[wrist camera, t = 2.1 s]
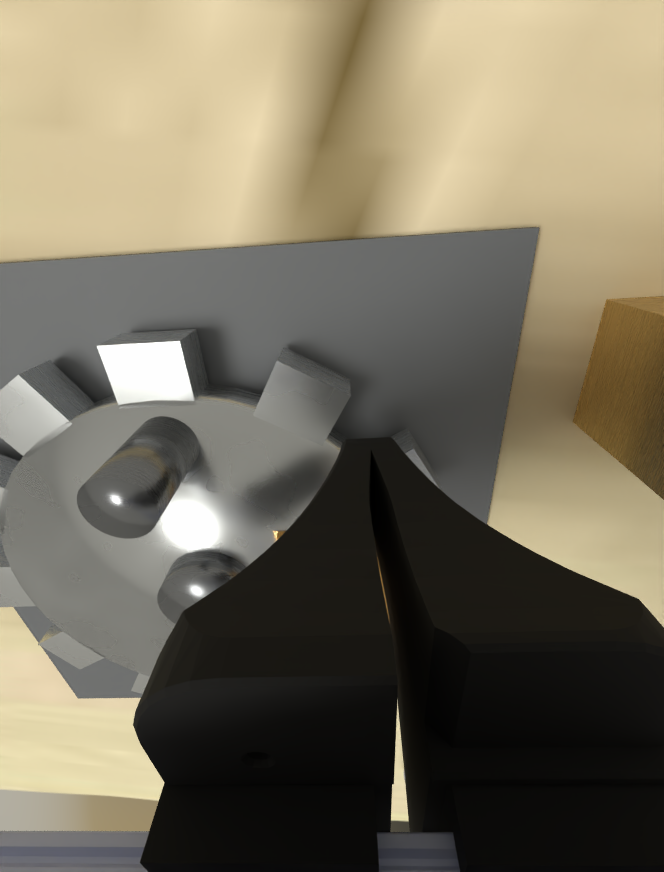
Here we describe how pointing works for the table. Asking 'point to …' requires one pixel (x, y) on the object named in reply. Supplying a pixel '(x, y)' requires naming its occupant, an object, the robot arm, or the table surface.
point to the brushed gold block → (628, 387)
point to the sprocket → (154, 488)
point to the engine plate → (300, 342)
